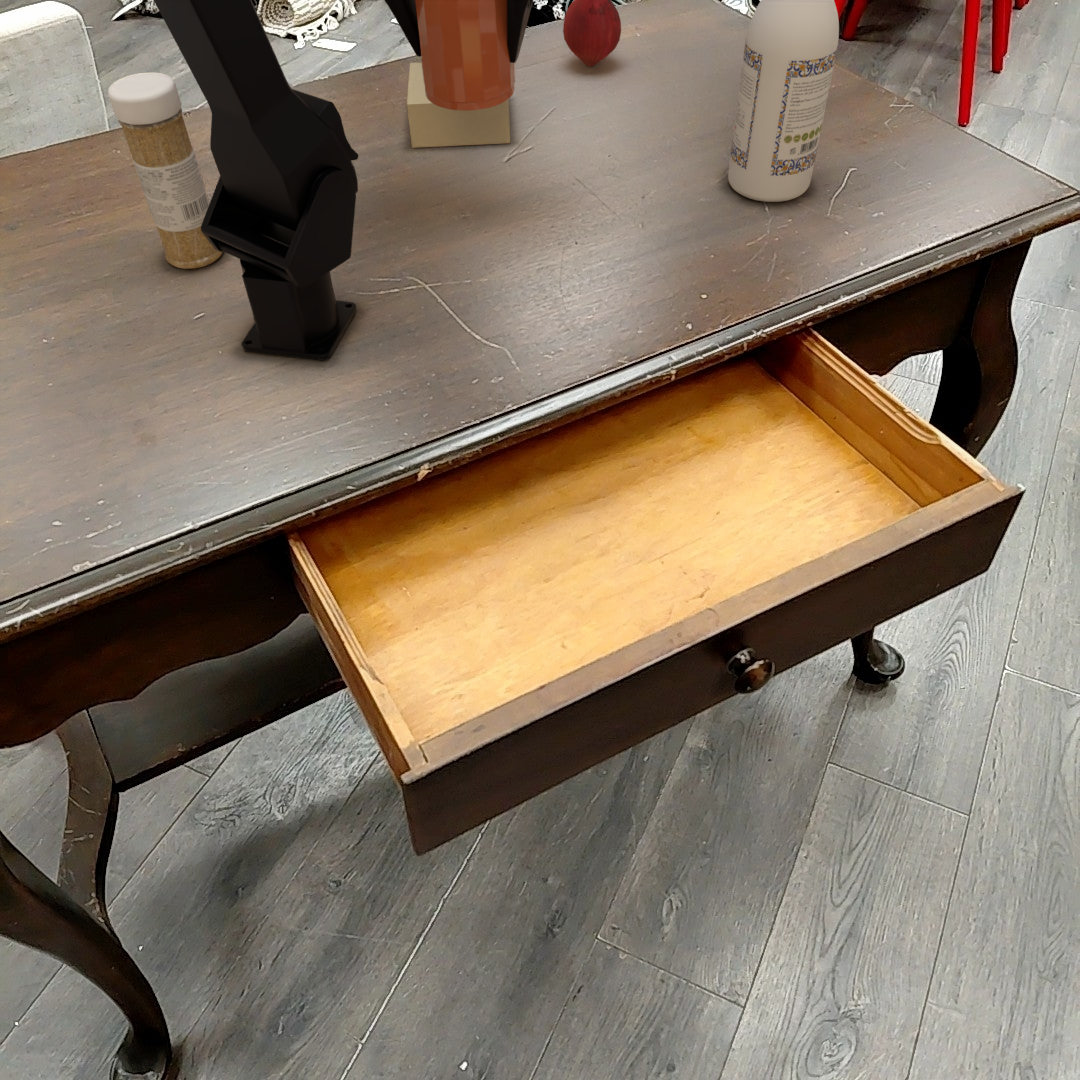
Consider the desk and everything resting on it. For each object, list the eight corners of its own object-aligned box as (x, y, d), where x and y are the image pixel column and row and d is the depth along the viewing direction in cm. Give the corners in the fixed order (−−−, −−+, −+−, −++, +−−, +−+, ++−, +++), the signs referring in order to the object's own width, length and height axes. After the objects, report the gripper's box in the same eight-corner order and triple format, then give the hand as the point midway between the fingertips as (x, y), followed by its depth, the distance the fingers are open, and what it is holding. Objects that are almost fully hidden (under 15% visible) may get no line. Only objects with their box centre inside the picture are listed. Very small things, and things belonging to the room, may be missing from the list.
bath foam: (821, 176, 83) (876, -91, 69) (791, 212, 80) (843, -63, 65) (746, 158, 86) (784, -104, 71) (713, 192, 82) (747, -78, 67)
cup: (502, 114, 71) (496, -5, 65) (413, 107, 72) (399, -10, 66) (523, 74, 75) (519, -40, 69) (439, 69, 76) (428, -45, 70)
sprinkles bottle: (208, 234, 79) (157, 64, 69) (234, 257, 77) (185, 84, 67) (156, 254, 77) (95, 82, 67) (181, 278, 75) (121, 103, 65)
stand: (510, 143, 89) (508, 99, 86) (412, 148, 88) (406, 104, 86) (506, 100, 95) (504, 58, 92) (414, 105, 95) (409, 62, 92)
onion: (627, 59, 101) (631, -26, 95) (607, 81, 97) (610, -6, 91) (576, 51, 103) (576, -33, 97) (554, 72, 99) (553, -14, 93)
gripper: (617, -229, 64) (610, 23, 75) (350, -234, 67) (383, 9, 78) (585, -187, 57) (583, 84, 68) (288, -194, 60) (334, 66, 71)
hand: (467, 57), depth 72 cm, fingers closed on cup, 7 cm apart
